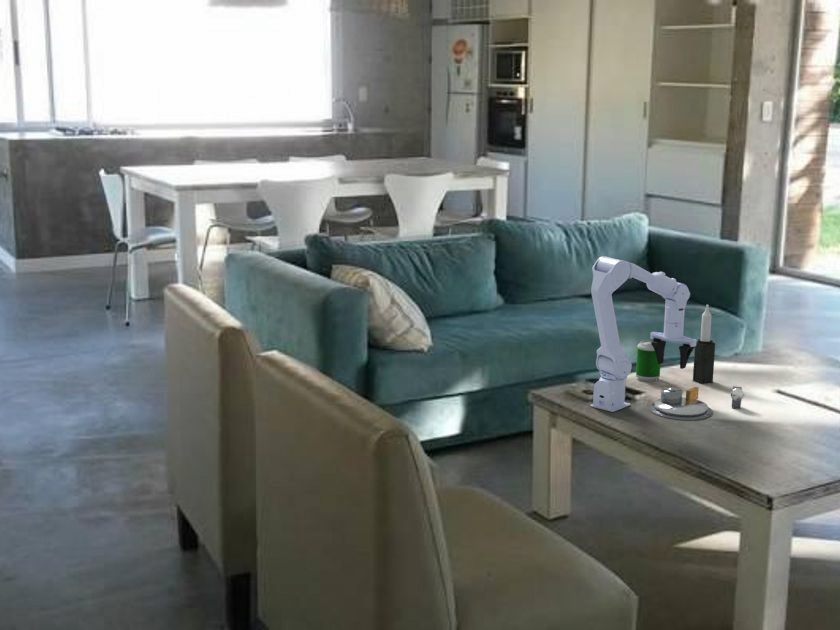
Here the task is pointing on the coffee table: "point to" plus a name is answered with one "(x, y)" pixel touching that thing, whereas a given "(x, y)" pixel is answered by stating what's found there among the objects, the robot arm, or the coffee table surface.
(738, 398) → the grey cube on chrome
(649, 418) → the coffee table surface
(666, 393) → the cover
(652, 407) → the turntable base
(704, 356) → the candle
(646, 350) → the soda can
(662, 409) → the turntable
